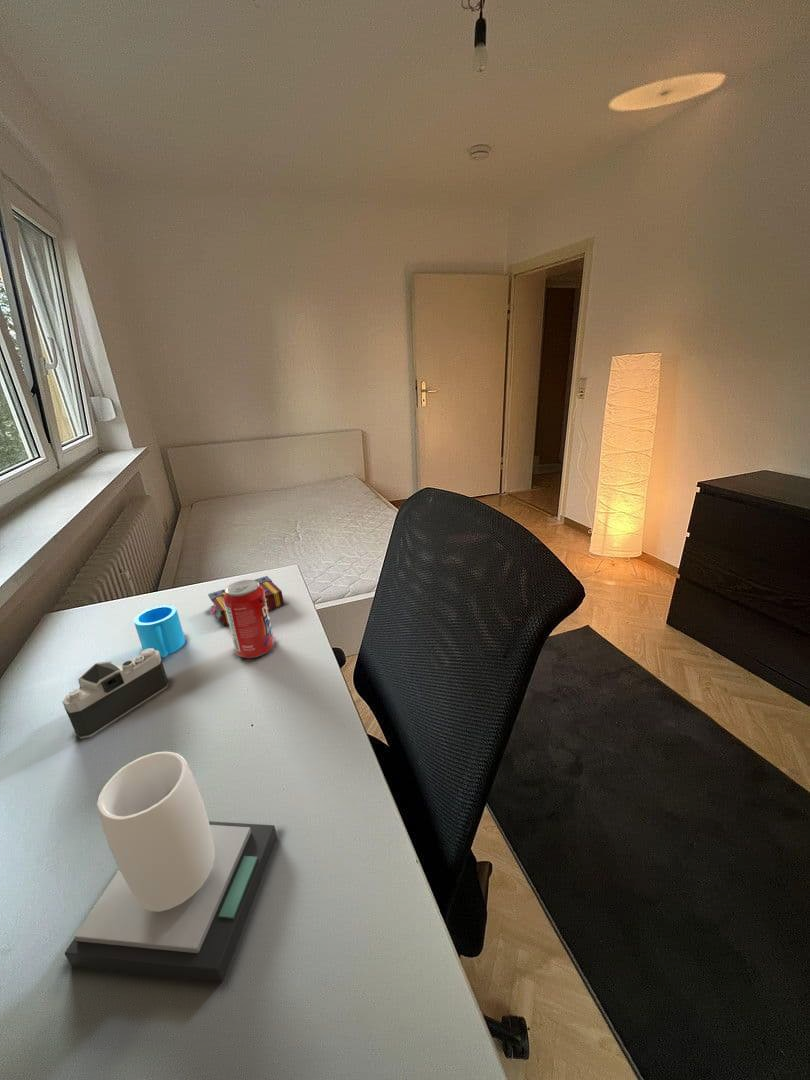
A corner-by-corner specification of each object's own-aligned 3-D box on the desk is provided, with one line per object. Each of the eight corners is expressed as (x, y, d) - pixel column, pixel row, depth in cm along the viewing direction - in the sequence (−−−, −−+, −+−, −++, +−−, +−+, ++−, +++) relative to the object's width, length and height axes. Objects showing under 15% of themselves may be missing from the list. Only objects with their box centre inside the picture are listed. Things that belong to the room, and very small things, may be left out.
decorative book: (285, 606, 110) (282, 588, 108) (218, 630, 102) (214, 611, 100) (269, 590, 119) (266, 573, 117) (207, 611, 110) (202, 593, 109)
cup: (137, 943, 43) (91, 843, 38) (132, 868, 49) (92, 775, 44) (228, 887, 47) (197, 790, 42) (212, 825, 54) (183, 735, 49)
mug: (144, 644, 98) (133, 612, 95) (184, 632, 102) (175, 601, 99) (143, 673, 88) (132, 638, 85) (188, 659, 92) (178, 625, 89)
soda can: (228, 658, 91) (212, 593, 86) (251, 637, 98) (238, 576, 93) (260, 663, 89) (246, 597, 83) (282, 641, 96) (270, 579, 90)
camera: (151, 672, 88) (137, 629, 85) (176, 685, 84) (163, 640, 80) (61, 726, 76) (40, 678, 72) (86, 744, 71) (65, 694, 68)
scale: (71, 967, 44) (60, 948, 43) (159, 830, 57) (152, 813, 56) (223, 984, 42) (215, 964, 41) (277, 838, 55) (273, 820, 54)
